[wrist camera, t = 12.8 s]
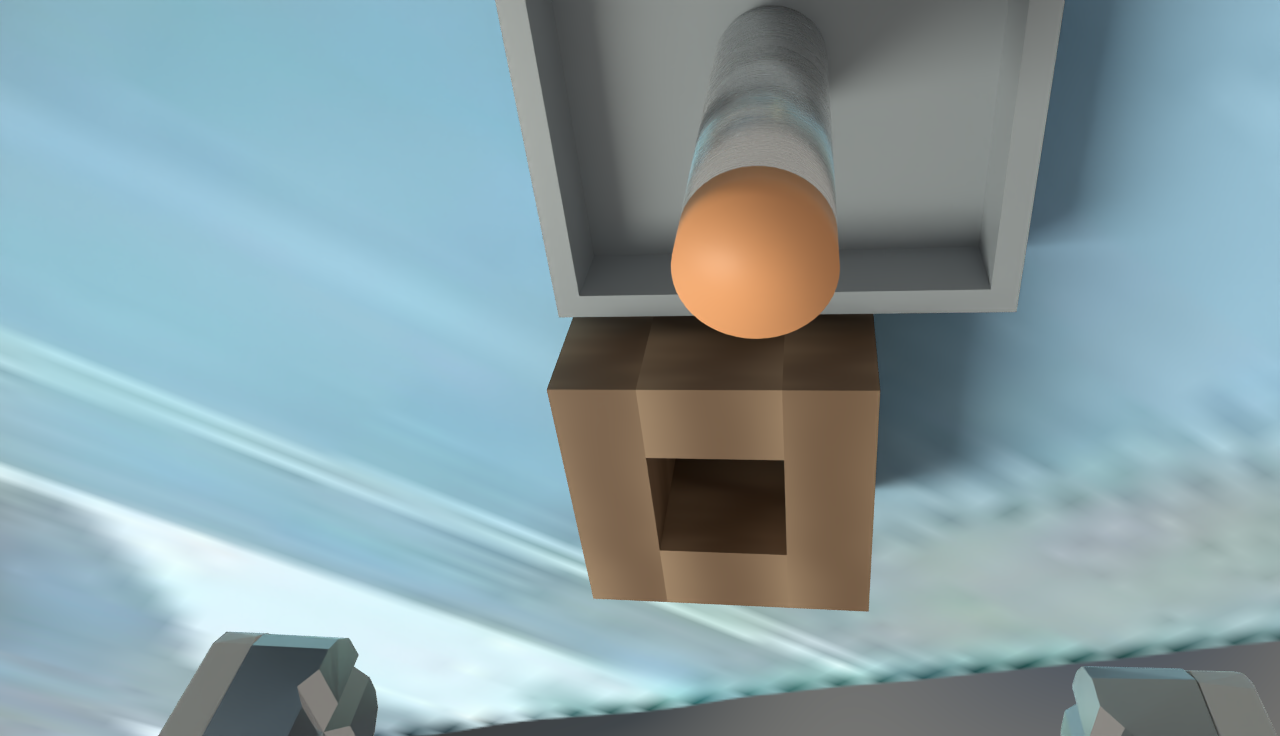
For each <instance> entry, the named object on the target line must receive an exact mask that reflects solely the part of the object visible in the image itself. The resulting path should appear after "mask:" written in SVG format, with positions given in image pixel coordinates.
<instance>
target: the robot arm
mask: <svg viewBox="0 0 1280 736" xmlns="http://www.w3.org/2000/svg"><path fill="white" fill-rule="evenodd" d="M357 658H358V653H357V651H356V649H355V648H354V646H353V644H352V642H351V641H350V639H349V638H336V637H317V636H297V635H278V634H268V633H243V632H226V633H225V634H223V635H222V636H221V637H220V638H219V639H218V640H216V641H215V642H214V643H213V644H212V646H211V647H210V649H209V651H208V652H207V654H206V656H205V658H204V659H203V661H202V663H201V664H200V666H199V668H198V669H197V671H196V673H195V674H194V676H193V678H192V680H191V681H190V683H189V685H188V686H187V688H186V690H185V691H184V693H183V695H182V696H181V698H180V700H179V701H178V703H177V705H176V707H175V708H174V710H173V712H172V713H171V715H170V717H169V718H168V720H167V722H166V723H165V725H164V727H163V729H162V730H161V732H160V734H159V735H158V736H373V735H374V732H375V725H376V717H377V710H378V705H377V697H376V690H375V688H374V686H373V684H372V681H371V679H370V677H368V676H367V675H365V674H364V673H362V672H361V671H360V670H358V669H357V668H355V667H354V665H355V662H356V660H357ZM1072 688H1073V691H1074V695H1075V699H1076V703H1077V704H1075V705H1074V706H1072V707H1070V708H1069V709H1067V710H1066V711H1065V713H1064V718H1063V722H1062V727H1061V736H1277V734H1276V732H1275V730H1274V728H1273V725H1272V723H1271V721H1270V719H1269V717H1268V715H1267V712H1266V710H1265V708H1264V706H1263V704H1262V702H1261V699H1260V697H1259V695H1258V693H1257V691H1256V689H1255V686H1254V684H1253V683H1252V682H1251V681H1250V680H1249V679H1248V678H1247V677H1246V676H1245V675H1244V674H1242V673H1239V672H1229V671H1186V670H1183V669H1172V668H1171V669H1170V668H1130V667H1127V668H1126V667H1088V666H1085V667H1084V666H1082V667H1081V668H1080V669H1079V670H1078V671H1076V675H1075V678H1074V681H1073V685H1072Z"/></svg>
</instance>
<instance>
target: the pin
mask: <svg viewBox="0 0 1280 736" xmlns="http://www.w3.org/2000/svg"><path fill="white" fill-rule="evenodd" d="M671 274H672V279H673V284H674V286H675V289H676V292H677V294H678V296H679V298H680V300H681V301H682V302H683V304H684V305H685V307H686V308H687V309H688V310H689V311H690V312H691V313H692V314H693V315H694V316H695V317H696V318H697V319H699V320H700V321H701V322H703V323H704V324H706V325H707V326H709V327H711V328H713V329H715V330H717V331H719V332H722V333H725V334H728V335H732V336H735V337H741V338H751V339H762V338H771V337H777V336H781V335H784V334H788V333H790V332H793V331H795V330H798V329H799V328H801V327H803V326H805V325H807V324H808V323H809V322H811V321H812V320H814V319H815V318H816V317H817V316H818V315H819V314H820V313H821V312H822V311H823V310H824V309H825V307H826V306H827V305H828V304H829V302H830V300H831V299H832V297H833V295H834V293H835V290H836V288H837V284H838V280H839V274H840V261H839V244H838V227H837V211H836V194H835V177H834V161H833V144H832V127H831V111H830V94H829V77H828V61H827V50H826V45H825V42H824V39H823V37H822V35H821V33H820V31H819V29H818V28H817V27H816V25H815V24H814V23H813V22H812V21H811V20H810V19H809V18H808V17H806V16H805V15H804V14H802V13H800V12H798V11H796V10H794V9H791V8H788V7H784V6H776V5H774V6H762V7H758V8H754V9H752V10H749V11H747V12H745V13H744V14H742V15H740V16H739V17H738V18H736V19H735V20H734V21H733V22H732V23H731V24H730V25H729V26H728V27H727V28H726V30H725V31H724V32H723V34H722V36H721V38H720V40H719V42H718V45H717V48H716V52H715V56H714V61H713V66H712V70H711V75H710V80H709V84H708V89H707V94H706V98H705V103H704V108H703V112H702V117H701V122H700V126H699V131H698V136H697V140H696V145H695V150H694V154H693V159H692V164H691V169H690V173H689V178H688V183H687V187H686V192H685V197H684V201H683V206H682V211H681V215H680V220H679V225H678V229H677V234H676V239H675V243H674V248H673V253H672V259H671Z"/></svg>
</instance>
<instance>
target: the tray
mask: <svg viewBox="0 0 1280 736" xmlns="http://www.w3.org/2000/svg"><path fill="white" fill-rule="evenodd" d="M495 2H496V7H497V12H498V17H499V22H500V27H501V32H502V37H503V42H504V47H505V52H506V57H507V62H508V67H509V72H510V77H511V81H512V86H513V91H514V96H515V101H516V106H517V111H518V116H519V121H520V126H521V131H522V136H523V141H524V146H525V151H526V156H527V161H528V166H529V171H530V176H531V181H532V186H533V191H534V196H535V201H536V206H537V211H538V216H539V220H540V225H541V230H542V235H543V240H544V245H545V250H546V255H547V260H548V265H549V270H550V275H551V280H552V285H553V290H554V295H555V300H556V305H557V310H558V315H559V317H630V316H694V315H693V314H692V313H691V312H690V311H689V310H688V309H687V308H686V307H685V305H684V304H683V302H682V301H681V300H680V298H679V296H678V294H677V292H676V289H675V286H674V284H673V279H672V274H671V259H672V253H673V248H674V243H675V239H676V234H677V229H678V225H679V220H680V215H681V211H682V206H683V201H684V197H685V192H686V187H687V183H688V178H689V173H690V169H691V164H692V159H693V154H694V150H695V145H696V140H697V136H698V131H699V126H700V122H701V117H702V112H703V108H704V103H705V98H706V94H707V89H708V84H709V80H710V75H711V70H712V66H713V61H714V56H715V52H716V48H717V45H718V42H719V40H720V38H721V36H722V34H723V32H724V31H725V30H726V28H727V27H728V26H729V25H730V24H731V23H732V22H733V21H734V20H735V19H736V18H738V17H739V16H740V15H742V14H744V13H745V12H747V11H749V10H752V9H754V8H758V7H762V6H774V5H776V6H784V7H788V8H791V9H794V10H796V11H798V12H800V13H802V14H804V15H805V16H806V17H808V18H809V19H810V20H811V21H812V22H813V23H814V24H815V25H816V27H817V28H818V29H819V31H820V33H821V35H822V37H823V39H824V42H825V45H826V50H827V61H828V77H829V94H830V111H831V127H832V144H833V161H834V177H835V194H836V211H837V227H838V244H839V261H840V274H839V280H838V284H837V288H836V290H835V293H834V295H833V297H832V299H831V300H830V302H829V304H828V305H827V306H826V307H825V309H824V310H823V311H822V312H821V313H820V314H885V313H969V312H1016V311H1017V305H1018V298H1019V292H1020V285H1021V279H1022V273H1023V266H1024V260H1025V253H1026V247H1027V241H1028V234H1029V228H1030V221H1031V215H1032V208H1033V202H1034V196H1035V189H1036V183H1037V176H1038V170H1039V164H1040V157H1041V151H1042V144H1043V138H1044V131H1045V125H1046V119H1047V112H1048V106H1049V99H1050V93H1051V86H1052V80H1053V74H1054V67H1055V61H1056V54H1057V48H1058V42H1059V35H1060V29H1061V22H1062V16H1063V9H1064V3H1065V0H495Z"/></svg>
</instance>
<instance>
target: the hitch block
mask: <svg viewBox="0 0 1280 736" xmlns="http://www.w3.org/2000/svg"><path fill="white" fill-rule="evenodd" d="M547 393H548V397H549V402H550V406H551V410H552V415H553V419H554V424H555V428H556V433H557V437H558V442H559V446H560V451H561V455H562V460H563V464H564V469H565V473H566V478H567V482H568V486H569V491H570V495H571V500H572V504H573V509H574V513H575V518H576V522H577V527H578V531H579V536H580V540H581V545H582V549H583V554H584V558H585V562H586V567H587V571H588V576H589V580H590V585H591V589H592V594H593V598H595V599H616V600H637V601H658V602H679V603H701V604H722V605H743V606H764V607H785V608H806V609H827V610H849V611H869V592H870V574H871V555H872V536H873V517H874V498H875V479H876V460H877V441H878V422H879V403H880V383H879V372H878V361H877V350H876V339H875V327H874V316H873V314H819V315H818V316H817V317H816V318H815V319H814V320H812V321H811V322H809V323H808V324H807V325H805V326H803V327H801V328H799V329H798V330H795V331H793V332H790V333H788V334H784V335H781V336H777V337H771V338H762V339H751V338H741V337H735V336H732V335H728V334H725V333H722V332H719V331H717V330H715V329H713V328H711V327H709V326H707V325H706V324H704V323H703V322H701V321H700V320H699V319H697V318H696V317H695V316H630V317H573V319H572V322H571V325H570V327H569V330H568V333H567V336H566V338H565V341H564V344H563V347H562V349H561V352H560V355H559V358H558V360H557V363H556V366H555V369H554V371H553V374H552V377H551V380H550V382H549V385H548V388H547Z"/></svg>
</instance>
